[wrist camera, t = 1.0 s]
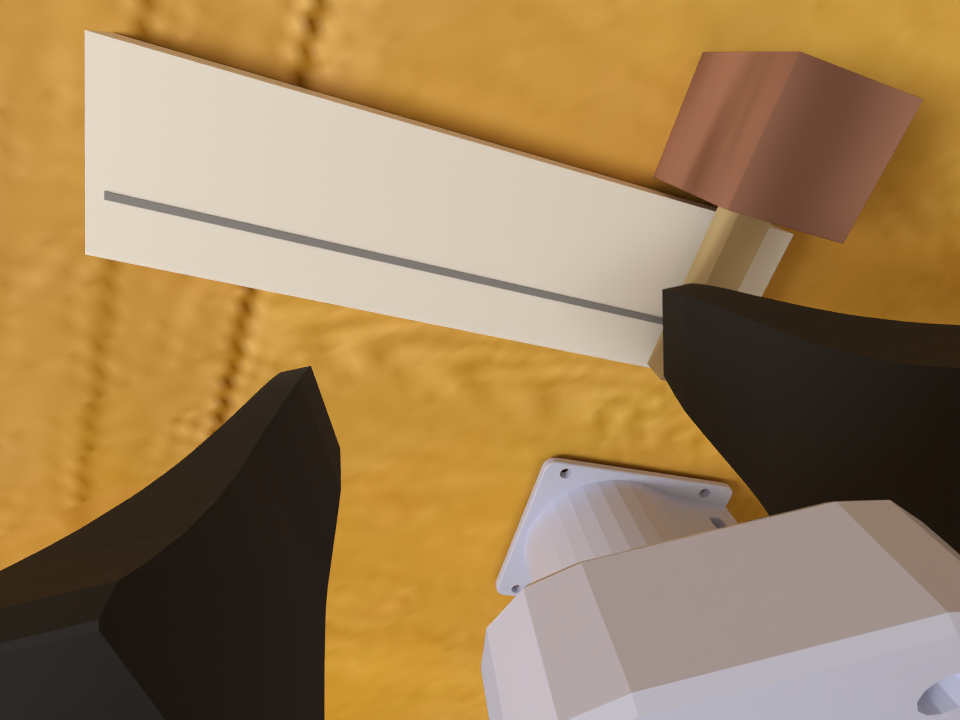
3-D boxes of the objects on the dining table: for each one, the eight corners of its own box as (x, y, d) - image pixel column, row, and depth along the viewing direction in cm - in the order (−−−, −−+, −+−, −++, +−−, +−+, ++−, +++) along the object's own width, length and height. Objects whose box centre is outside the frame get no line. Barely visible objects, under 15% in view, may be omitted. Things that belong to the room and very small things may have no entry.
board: (767, 222, 22) (794, 234, 20) (698, 362, 24) (718, 382, 23) (110, 31, 16) (83, 30, 15) (107, 239, 19) (84, 254, 17)
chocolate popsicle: (803, 89, 20) (923, 99, 15) (680, 348, 24) (747, 415, 19) (702, 51, 19) (800, 51, 14) (592, 330, 23) (642, 395, 18)
